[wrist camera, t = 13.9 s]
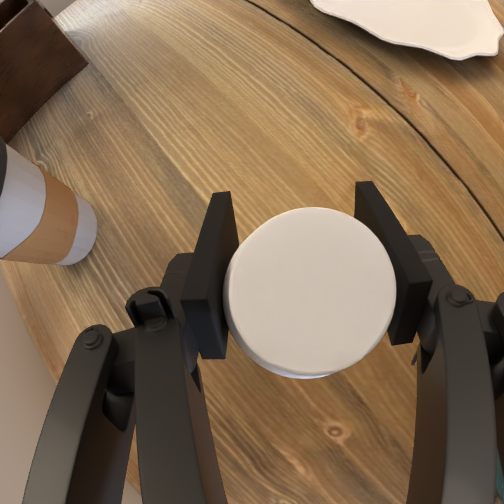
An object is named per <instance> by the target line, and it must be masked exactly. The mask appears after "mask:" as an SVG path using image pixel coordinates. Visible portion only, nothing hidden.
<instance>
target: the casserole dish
mask: <svg viewBox="0 0 504 504" xmlns="http://www.w3.org/2000/svg"><path fill="white" fill-rule="evenodd" d="M496 488H497V491H498V493H499V495H500V497H501V500H502V502H503V504H504V479H503V473H502V468H501V464H500V459H499V454H498V450H497V481H496Z"/></svg>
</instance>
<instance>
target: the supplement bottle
mask: <svg viewBox="0 0 504 504" xmlns="http://www.w3.org/2000/svg"><path fill="white" fill-rule="evenodd" d="M395 302H396V280H395V274H394V270H393V266H392V263H391V261H390V258H389V256H388V254H387V252H386V250H385V248H384V246H383V245H382V243H381V242H380V241H379V239H378V238H377V237H376V236H375V234H374V233H373V232H372V231H371V230H370V229H369V228H368V227H366V226H365V225H364V224H363V223H361V222H360V221H358V220H357V219H355V218H353V217H351V216H349V215H347V214H345V213H342V212H339V211H336V210H333V209H327V208H321V207H306V208H298V209H294V210H290V211H287V212H284V213H281V214H279V215H277V216H275V217H273V218H271V219H269V220H268V221H266V222H265V223H264V224H262V225H261V226H260V227H259V228H257V229H256V230H255V231H254V232H253V233H252V234H251V235H249V236H248V237H247V238H246V239H245V240H244V241H243V243H242V244H241V245H240V246H239V248H238V249H237V251H236V252H235V254H234V255H233V257H232V259H231V261H230V264H229V266H228V268H227V272H226V275H225V279H224V285H223V309H224V314H225V318H226V322H227V324H228V327H229V329H230V332H231V334H232V336H233V338H234V339H235V341H236V342H237V344H238V345H239V347H240V348H241V349H242V350H243V351H244V353H245V354H246V355H247V356H248V357H250V358H251V359H252V360H253V361H254V362H255V363H257V364H258V365H260V366H261V367H263V368H265V369H267V370H269V371H270V372H273V373H276V374H278V375H281V376H285V377H290V378H298V379H310V378H318V377H323V376H327V375H330V374H333V373H336V372H339V371H342V370H344V369H346V368H348V367H350V366H352V365H354V364H356V363H358V362H359V361H360V360H362V359H363V358H364V357H366V356H367V355H368V354H369V353H370V352H371V351H372V350H373V349H374V348H375V347H376V345H377V344H378V343H379V342H380V340H381V339H382V337H383V336H384V334H385V332H386V331H387V329H388V326H389V324H390V322H391V319H392V316H393V312H394V308H395Z"/></svg>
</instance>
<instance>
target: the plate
mask: <svg viewBox="0 0 504 504" xmlns="http://www.w3.org/2000/svg"><path fill="white" fill-rule="evenodd" d="M309 1H310V3H311V4H312V5H313V7H314V8H315V9H317V10H318V11H320V12H322V13H323V14H326V15H329V16H332V17H335V18H338V19H341V20H344V21H346V22H349V23H352V24H354V25H356V26H357V27H359V28H361V29H363V30H364V31H366V32H368V33H369V34H371V35H372V36H374V37H376V38H377V39H379V40H381V41H384V42H386V43H389V44H392V45H398V46H405V47H411V48H418V49H423V50H425V51H428V52H431V53H433V54H436V55H439V56H441V57H444V58H446V59H449V60H452V61H463V60H466V59H468V58H471V57H474V56H487V57H494V56H496V55H497V54H498V46H499V40H500V38H501V37H502V36H503V34H504V30H503V27H502V26H501V24H500V23H499V21H498V20H497V18H496V17H495V15H494V14H493V11H492V9H491V7H490V4H489V2H488V1H487V0H309Z"/></svg>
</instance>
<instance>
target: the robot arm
mask: <svg viewBox="0 0 504 504" xmlns="http://www.w3.org/2000/svg"><path fill="white" fill-rule="evenodd" d="M354 218H355V219H357V220H358V221H360V222H361V223H363V224H364V225H365V226H366V227H368V228H369V229H370V230H371V231H372V232H373V233H374V234H375V236H376V237H377V238H378V239H379V241H380V242H381V243H382V245H383V246H384V248H385V250H386V252H387V254H388V256H389V258H390V261H391V263H392V266H393V270H394V274H395V280H396V302H395V308H394V312H393V316H392V319H391V322H390V324H389V326H388V329H387V332H388V335H389V339H390V342H391V345H392V346H393V345H400V344H406V343H412V342H413V339H414V337H415V334H416V331H417V333H418V336H419V339H420V343H419V346H418V348H417V350H416V353H415V355H414V357H413V360H412V364H411V365H415V363H416V360H417V405H416V424H415V438H414V449H413V459H412V467H411V475H410V482H409V489H408V495H407V501H406V504H495V498H496V481H497V450H498V454H499V459H500V464H501V468H502V473H503V479H504V292H503V293H501V294H500V295H499V296H498V298H497V300H496V302H495V303H494V302H486V301H479V300H476V299H475V297H474V295H473V294H472V293H471V292H470V291H469V290H468V289H466V288H465V287H463V286H460V285H456V284H455V282H454V281H453V279H452V277H451V276H450V274H449V272H448V271H447V269H446V267H445V266H444V264H443V263H442V261H441V260H440V258H439V256H438V255H437V253H435V250H434V248H433V247H432V245H431V244H430V242H429V241H427V240H426V239H425V238H423V237H422V236H421V235H408V236H407V234H406V232H405V231H404V229H403V227H402V226H401V224H400V223H399V221H398V219H397V218H396V216H395V215H394V213H393V212H392V210H391V209H390V207H389V206H388V204H387V202H386V201H385V199H384V198H383V196H382V195H381V194H380V192H379V191H378V189H377V188H376V186H375V185H374V183H373V182H372V181H363V182H356V186H355V212H354ZM238 248H239V240H238V234H237V228H236V223H235V217H234V211H233V205H232V199H231V193H230V191H226V192H217V193H213V194H212V197H211V200H210V203H209V206H208V209H207V213H206V216H205V219H204V222H203V225H202V228H201V231H200V234H199V238H198V241H197V244H196V247H195V251H194V253H181V254H177V255H176V256H175V257H174V258H173V259H172V260H171V261H170V262H169V264H168V267H167V269H166V272H165V273H166V274H165V275H164V277H163V280H162V281H163V282H162V283H161V286H160V287H147V288H144V289H142V290H139V291H138V292H136V293H135V294H133V295H132V296H131V297H130V298H129V300H128V301H127V303H126V306H125V309H126V311H127V313H128V315H129V317H130V319H131V321H132V323H133V324H134V326H135V327H134V328H131V329H128V330H124V331H121V332H117V333H113V334H112V332H111V330H110V329H109V328H108V327H107V326H105V325H100V324H99V325H93V326H90V327H88V328H86V329H85V330H84V331H82V332H81V333H80V334H79V336H78V337H77V339H76V341H75V343H74V345H73V348H72V350H71V352H70V355H69V357H68V360H67V362H66V365H65V367H64V370H63V372H62V375H61V377H60V380H59V382H58V385H57V388H56V390H55V393H54V396H53V398H52V401H51V404H50V407H49V410H48V413H47V415H46V419H45V422H44V424H43V428H42V431H41V434H40V437H39V441H38V444H37V447H36V450H35V454H34V457H33V461H32V464H31V468H30V472H29V476H28V480H27V484H26V488H25V493H24V497H23V501H22V504H121V501H122V494H123V488H124V482H125V476H126V470H127V465H128V459H129V454H130V449H131V443H132V438H133V433H134V428H135V424H136V439H137V453H138V466H139V476H140V486H141V495H142V503H143V504H228V503H227V499H226V495H225V491H224V487H223V482H222V478H221V474H220V469H219V465H218V461H217V456H216V451H215V447H214V442H213V437H212V432H211V427H210V422H209V417H208V412H207V407H206V401H205V396H204V390H203V385H202V379H201V373H200V369H199V366H198V364H197V357H198V352H200V354H201V357H202V359H225V357H226V348H227V340H228V331H229V327H228V324H227V322H226V318H225V314H224V309H223V285H224V279H225V275H226V272H227V268H228V266H229V264H230V261H231V259H232V257H233V255H234V254H235V252H236V251H237V249H238Z"/></svg>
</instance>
